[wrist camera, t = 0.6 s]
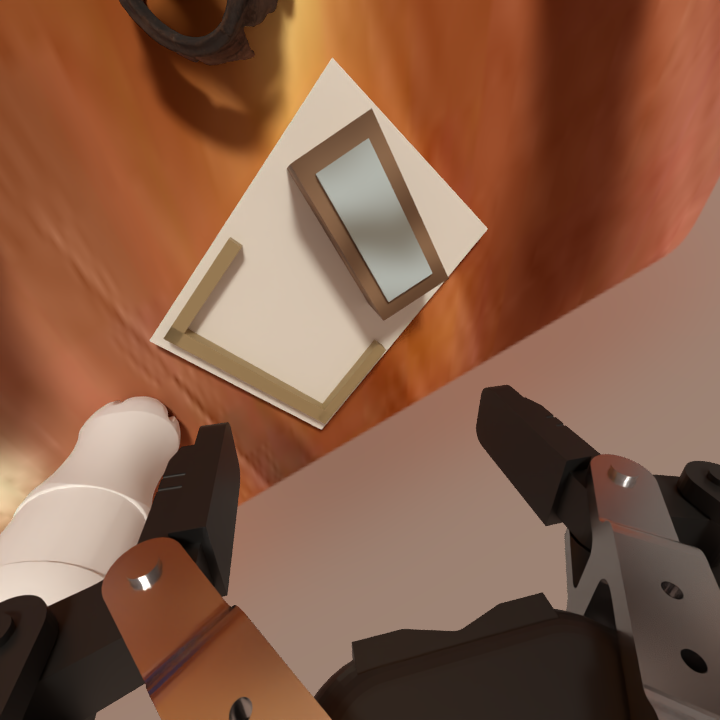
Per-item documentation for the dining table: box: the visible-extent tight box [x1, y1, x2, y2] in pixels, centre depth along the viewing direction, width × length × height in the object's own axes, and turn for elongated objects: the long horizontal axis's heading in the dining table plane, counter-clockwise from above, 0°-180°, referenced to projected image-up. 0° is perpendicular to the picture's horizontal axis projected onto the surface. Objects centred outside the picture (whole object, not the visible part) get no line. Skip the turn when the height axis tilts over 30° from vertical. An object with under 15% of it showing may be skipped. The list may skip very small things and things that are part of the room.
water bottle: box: [0, 396, 181, 606], centre depth 21 cm, size 7×7×25 cm
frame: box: [287, 108, 449, 321], centre depth 26 cm, size 12×6×5 cm, turn 30°
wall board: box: [150, 58, 488, 430], centre depth 29 cm, size 24×17×2 cm
